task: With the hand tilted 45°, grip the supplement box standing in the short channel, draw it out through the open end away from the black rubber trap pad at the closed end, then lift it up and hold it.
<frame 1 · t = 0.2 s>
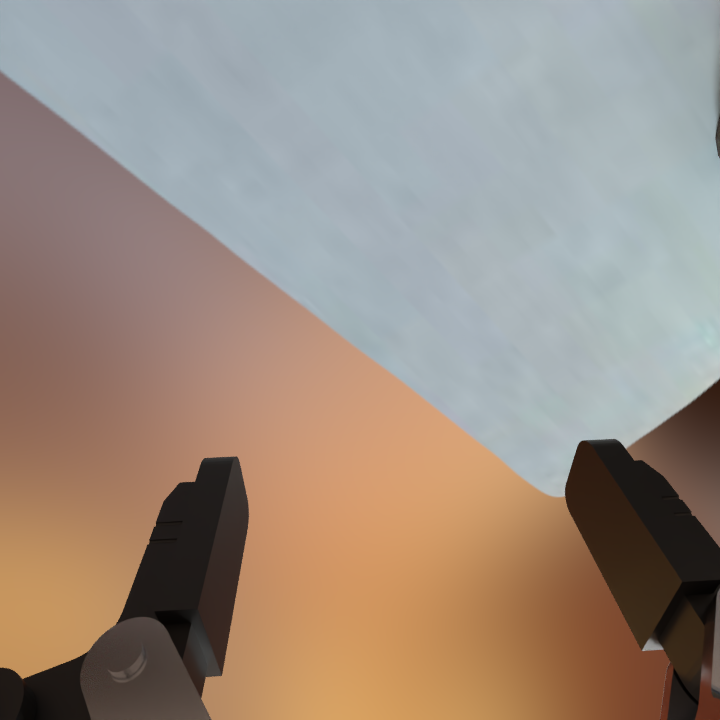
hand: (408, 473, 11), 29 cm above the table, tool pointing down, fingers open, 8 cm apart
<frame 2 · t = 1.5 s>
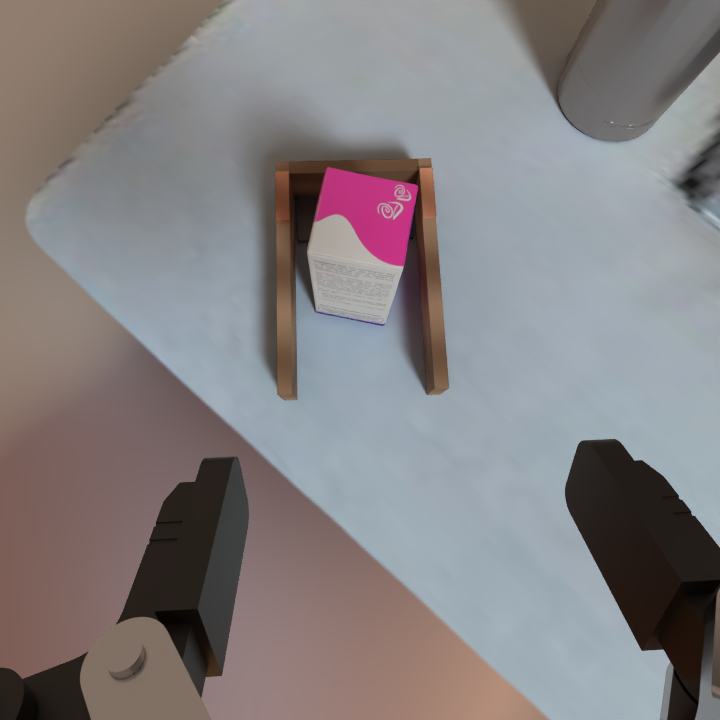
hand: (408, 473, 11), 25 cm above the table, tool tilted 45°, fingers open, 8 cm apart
supplement box: (357, 287, 39), resting in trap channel
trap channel: (357, 286, 39), on the table
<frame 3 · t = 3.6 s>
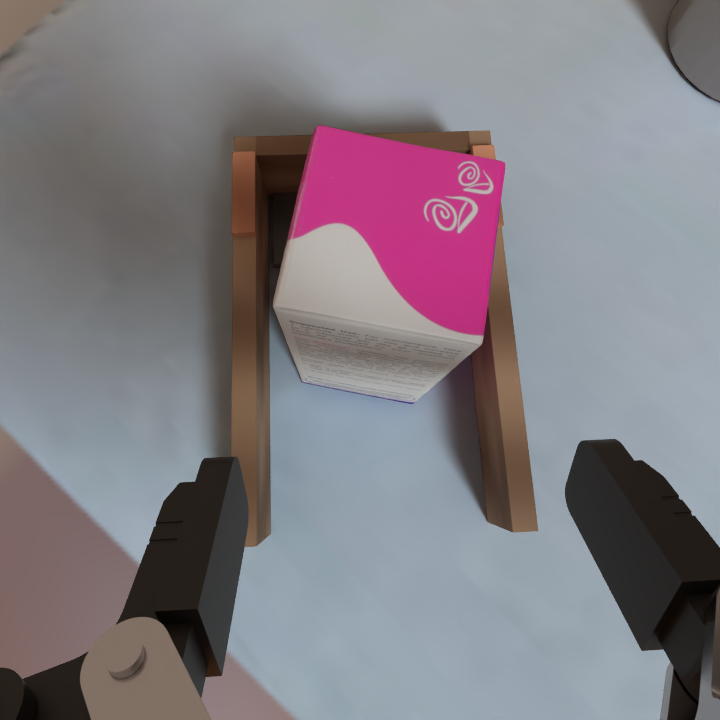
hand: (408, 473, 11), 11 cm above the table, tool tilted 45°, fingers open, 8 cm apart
supplement box: (369, 339, 24), resting in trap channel
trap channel: (369, 338, 24), on the table
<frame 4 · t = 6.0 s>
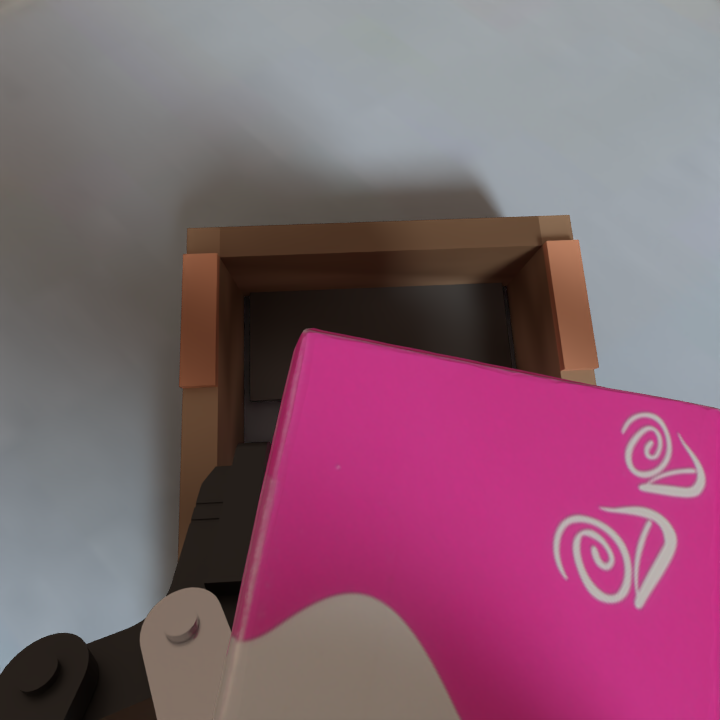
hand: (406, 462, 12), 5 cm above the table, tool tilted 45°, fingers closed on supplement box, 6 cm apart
supplement box: (389, 510, 17), resting in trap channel, touching gripper
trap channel: (389, 510, 16), on the table
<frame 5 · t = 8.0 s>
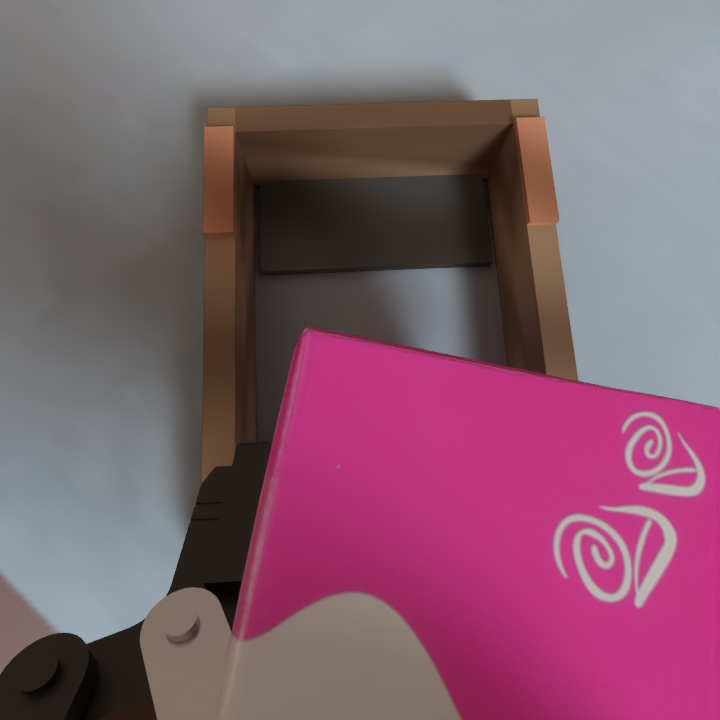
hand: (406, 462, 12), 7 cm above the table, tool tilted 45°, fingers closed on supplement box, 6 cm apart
supplement box: (389, 509, 17), point 1 cm above the table, touching gripper
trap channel: (382, 365, 19), on the table
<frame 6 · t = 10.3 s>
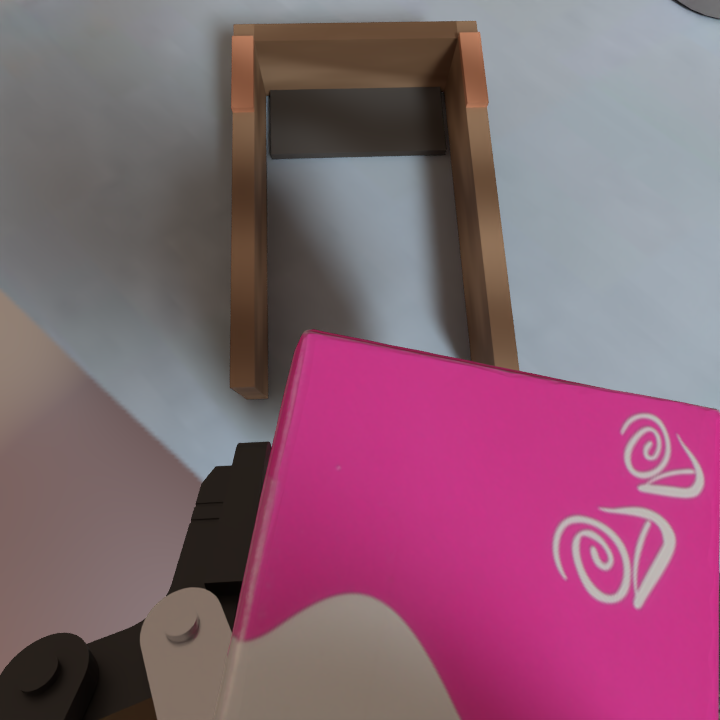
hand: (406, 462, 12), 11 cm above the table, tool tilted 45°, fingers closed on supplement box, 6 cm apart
supplement box: (389, 510, 17), point 6 cm above the table, touching gripper
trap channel: (362, 224, 25), on the table
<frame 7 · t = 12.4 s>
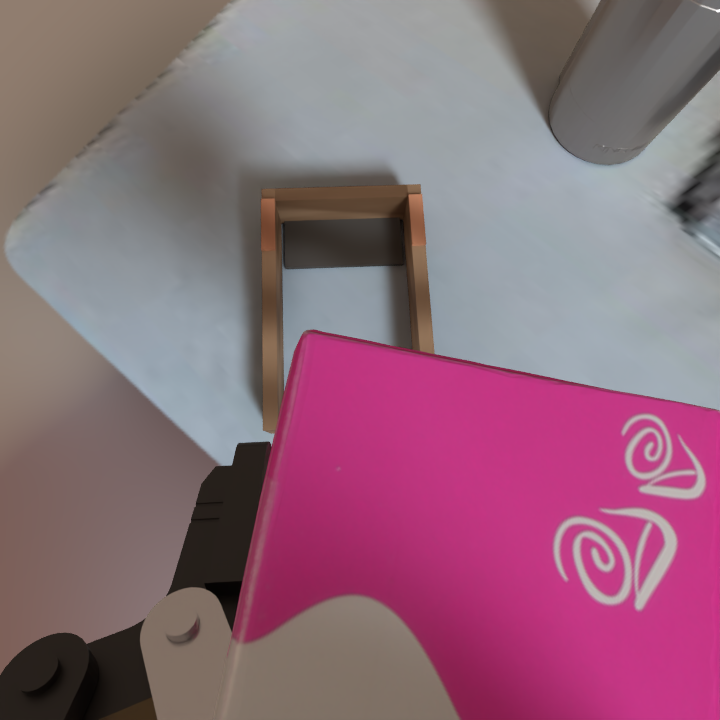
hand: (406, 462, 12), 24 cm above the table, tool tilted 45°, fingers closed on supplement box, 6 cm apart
supplement box: (389, 510, 17), point 19 cm above the table, touching gripper
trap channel: (346, 314, 38), on the table
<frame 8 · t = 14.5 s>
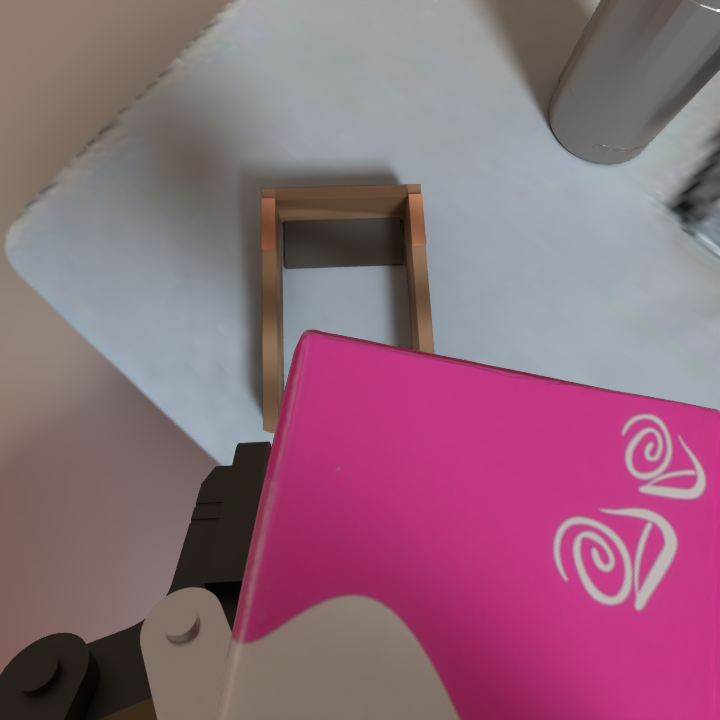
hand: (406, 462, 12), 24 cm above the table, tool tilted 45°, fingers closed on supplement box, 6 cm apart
supplement box: (389, 510, 17), point 19 cm above the table, touching gripper
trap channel: (346, 314, 38), on the table
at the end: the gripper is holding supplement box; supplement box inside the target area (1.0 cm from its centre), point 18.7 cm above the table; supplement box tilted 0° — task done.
